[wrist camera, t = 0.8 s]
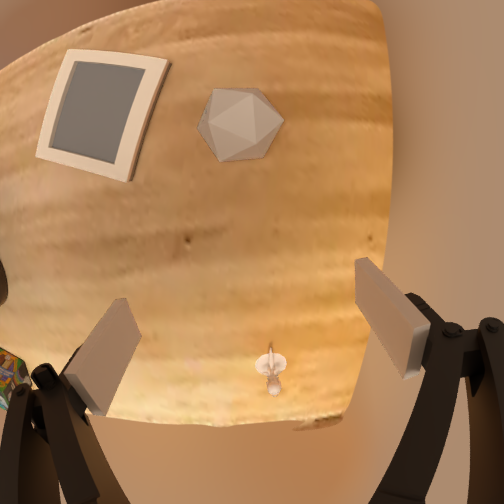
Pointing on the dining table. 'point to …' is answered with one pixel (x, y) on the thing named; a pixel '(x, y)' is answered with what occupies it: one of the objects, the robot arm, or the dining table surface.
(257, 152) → the die
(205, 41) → the dining table surface
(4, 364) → the chalk box
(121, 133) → the pocket plate
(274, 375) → the toy figurine
